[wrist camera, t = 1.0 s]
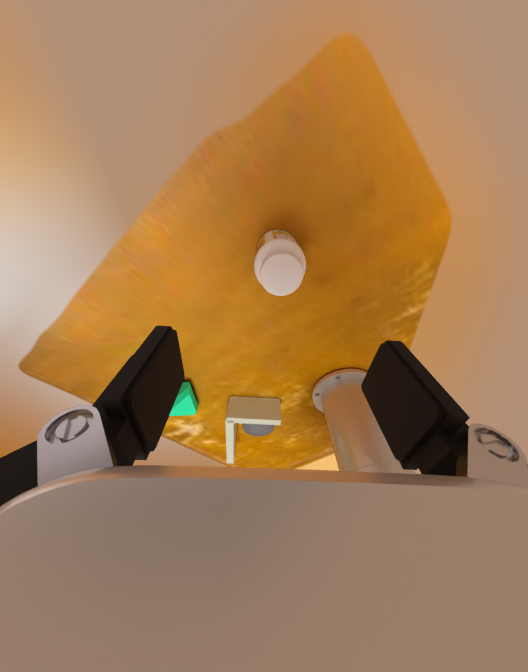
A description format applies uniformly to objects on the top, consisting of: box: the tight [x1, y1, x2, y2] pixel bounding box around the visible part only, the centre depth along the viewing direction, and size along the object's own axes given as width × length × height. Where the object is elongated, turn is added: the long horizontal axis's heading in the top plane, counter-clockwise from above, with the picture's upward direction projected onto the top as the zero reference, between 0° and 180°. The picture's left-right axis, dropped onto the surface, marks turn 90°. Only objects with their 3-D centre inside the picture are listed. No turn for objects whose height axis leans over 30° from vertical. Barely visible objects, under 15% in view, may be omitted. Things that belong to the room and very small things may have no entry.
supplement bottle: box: [254, 229, 306, 296], centre depth 24 cm, size 5×5×10 cm
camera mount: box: [169, 382, 198, 416], centre depth 39 cm, size 12×8×10 cm, turn 94°
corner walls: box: [225, 396, 281, 464], centre depth 46 cm, size 10×17×5 cm, turn 175°
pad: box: [243, 423, 274, 436], centre depth 49 cm, size 7×7×1 cm
